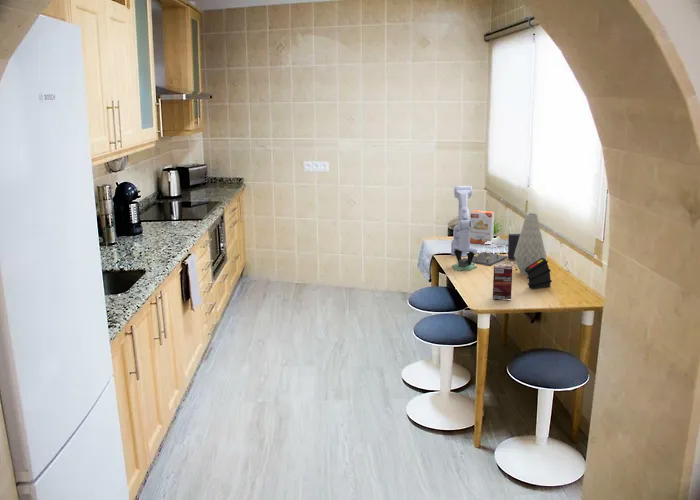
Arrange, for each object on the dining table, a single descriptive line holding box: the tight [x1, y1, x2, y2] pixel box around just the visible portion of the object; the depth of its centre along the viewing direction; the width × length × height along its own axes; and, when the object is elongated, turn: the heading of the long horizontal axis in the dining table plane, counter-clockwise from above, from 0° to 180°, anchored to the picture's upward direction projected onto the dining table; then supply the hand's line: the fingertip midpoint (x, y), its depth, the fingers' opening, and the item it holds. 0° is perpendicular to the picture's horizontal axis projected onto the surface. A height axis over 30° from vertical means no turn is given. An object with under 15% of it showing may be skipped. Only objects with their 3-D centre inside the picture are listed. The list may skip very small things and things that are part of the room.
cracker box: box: [470, 209, 495, 245], centre depth 396 cm, size 14×6×21 cm, turn 62°
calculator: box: [507, 233, 520, 261], centre depth 359 cm, size 11×4×15 cm, turn 84°
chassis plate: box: [471, 250, 508, 267], centre depth 362 cm, size 16×20×4 cm
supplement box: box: [492, 265, 513, 300], centre depth 296 cm, size 9×5×16 cm, turn 80°
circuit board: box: [451, 257, 478, 272], centre depth 348 cm, size 12×15×5 cm
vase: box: [514, 212, 547, 277], centre depth 330 cm, size 17×17×33 cm
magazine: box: [525, 258, 552, 290], centre depth 310 cm, size 4×13×15 cm, turn 105°
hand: (464, 263), depth 348 cm, fingers open, 6 cm apart
